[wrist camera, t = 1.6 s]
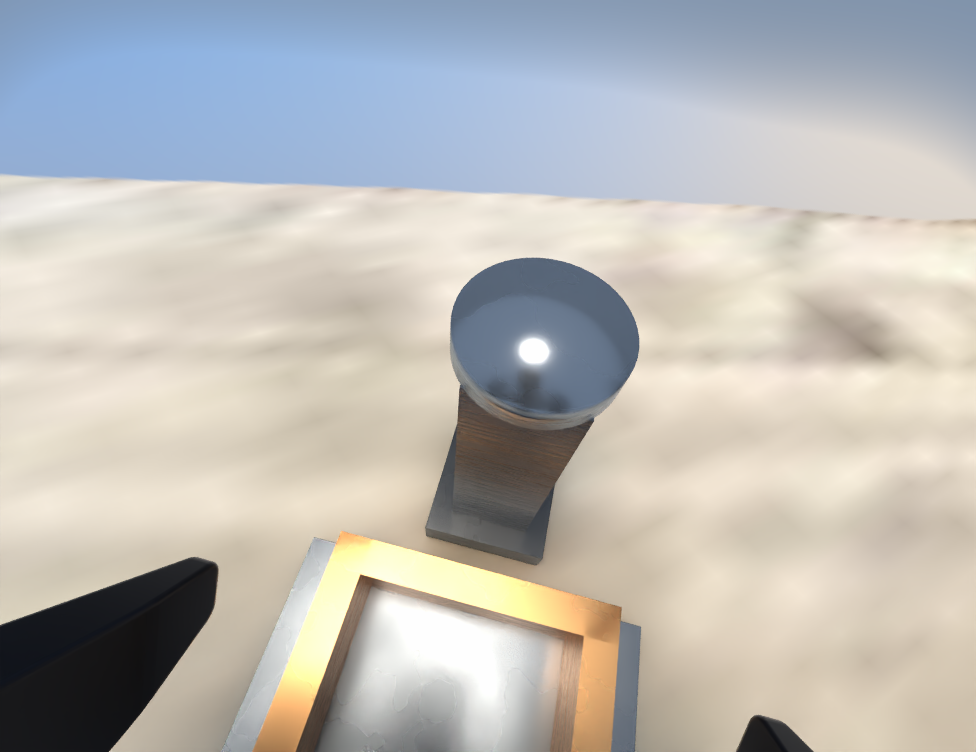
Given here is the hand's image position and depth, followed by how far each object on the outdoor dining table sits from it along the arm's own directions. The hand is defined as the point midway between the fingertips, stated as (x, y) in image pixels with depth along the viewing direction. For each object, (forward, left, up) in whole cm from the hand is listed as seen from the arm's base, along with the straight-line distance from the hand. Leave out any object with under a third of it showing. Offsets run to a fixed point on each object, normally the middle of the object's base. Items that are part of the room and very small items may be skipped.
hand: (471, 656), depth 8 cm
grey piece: (+6, -4, -12) cm, 14 cm away
